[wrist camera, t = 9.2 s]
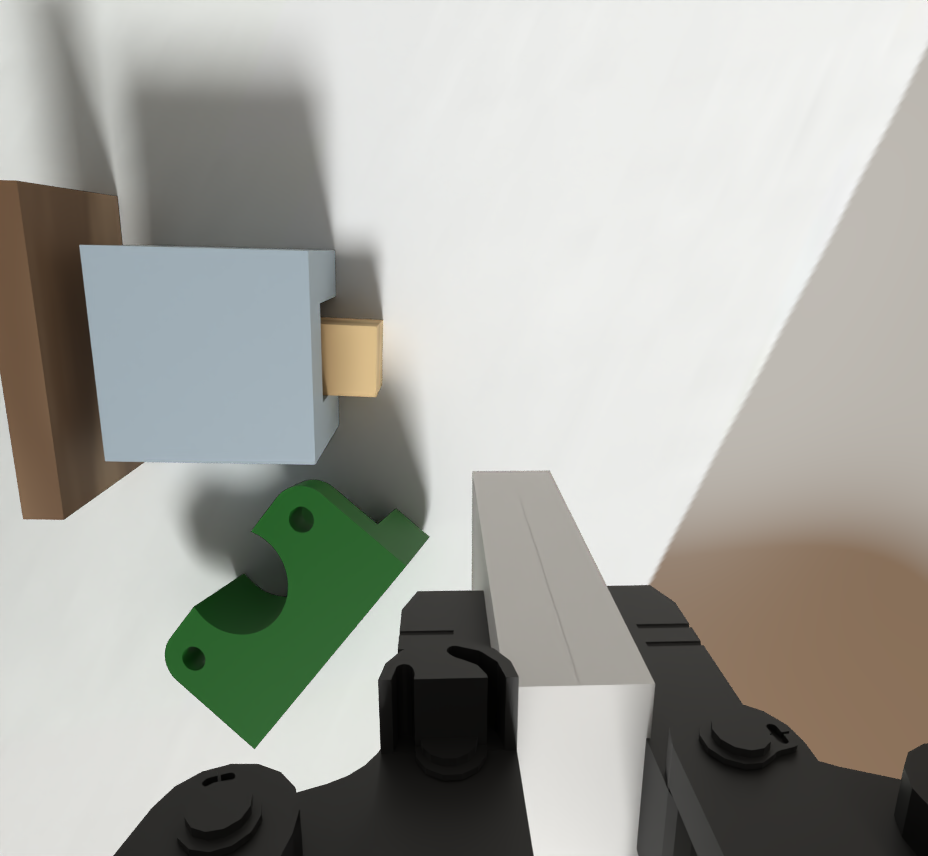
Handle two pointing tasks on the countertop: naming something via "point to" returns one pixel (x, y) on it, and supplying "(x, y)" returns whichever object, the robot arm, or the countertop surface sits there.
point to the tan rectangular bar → (351, 356)
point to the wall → (52, 345)
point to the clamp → (289, 607)
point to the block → (209, 352)
